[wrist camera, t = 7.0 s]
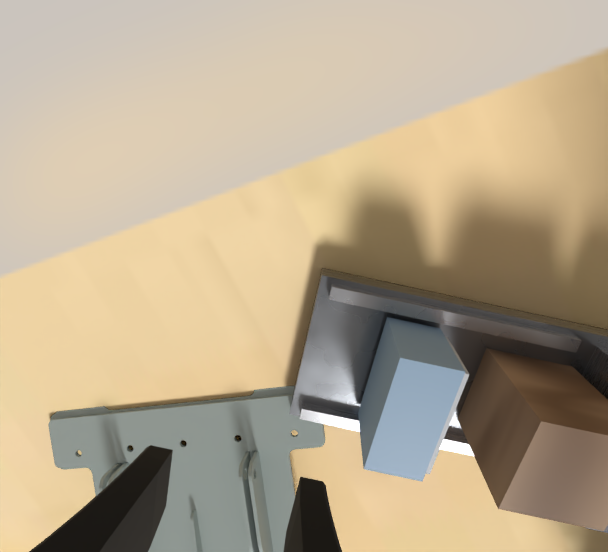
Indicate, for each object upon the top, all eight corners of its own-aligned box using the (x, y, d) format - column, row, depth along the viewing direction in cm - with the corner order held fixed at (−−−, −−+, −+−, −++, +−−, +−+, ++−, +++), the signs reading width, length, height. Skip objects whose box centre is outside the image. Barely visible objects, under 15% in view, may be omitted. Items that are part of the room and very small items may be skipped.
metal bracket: (352, 671, 19) (64, 678, 21) (351, 575, 25) (125, 587, 27) (311, 376, 19) (20, 407, 20) (319, 348, 25) (92, 374, 26)
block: (572, 366, 18) (657, 446, 14) (537, 436, 20) (603, 531, 15) (486, 347, 18) (541, 421, 13) (457, 419, 20) (498, 508, 15)
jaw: (447, 329, 18) (473, 373, 14) (412, 424, 19) (429, 482, 16) (387, 316, 18) (400, 357, 14) (358, 412, 19) (364, 469, 16)
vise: (638, 336, 19) (737, 399, 14) (570, 461, 21) (636, 549, 17) (322, 268, 19) (319, 310, 14) (291, 401, 21) (280, 474, 16)
